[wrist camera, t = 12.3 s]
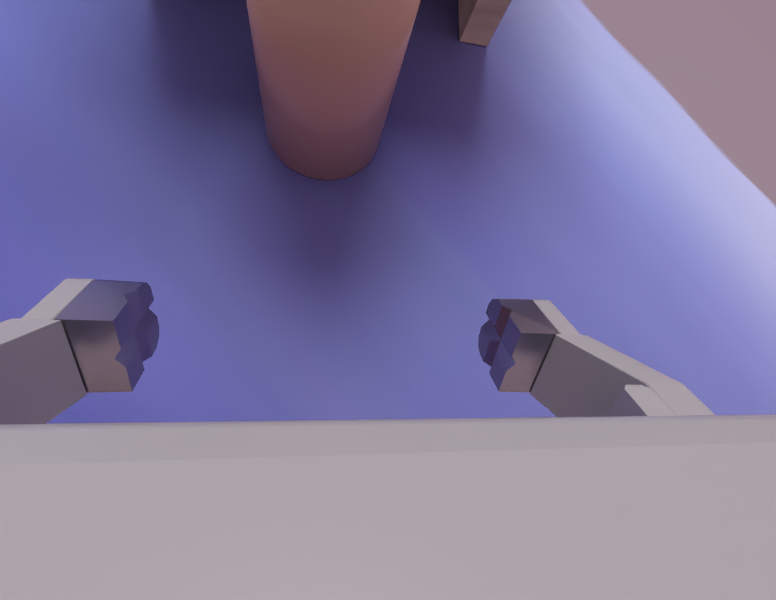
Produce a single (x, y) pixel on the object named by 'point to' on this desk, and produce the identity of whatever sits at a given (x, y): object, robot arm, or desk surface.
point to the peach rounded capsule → (328, 77)
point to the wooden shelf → (480, 19)
